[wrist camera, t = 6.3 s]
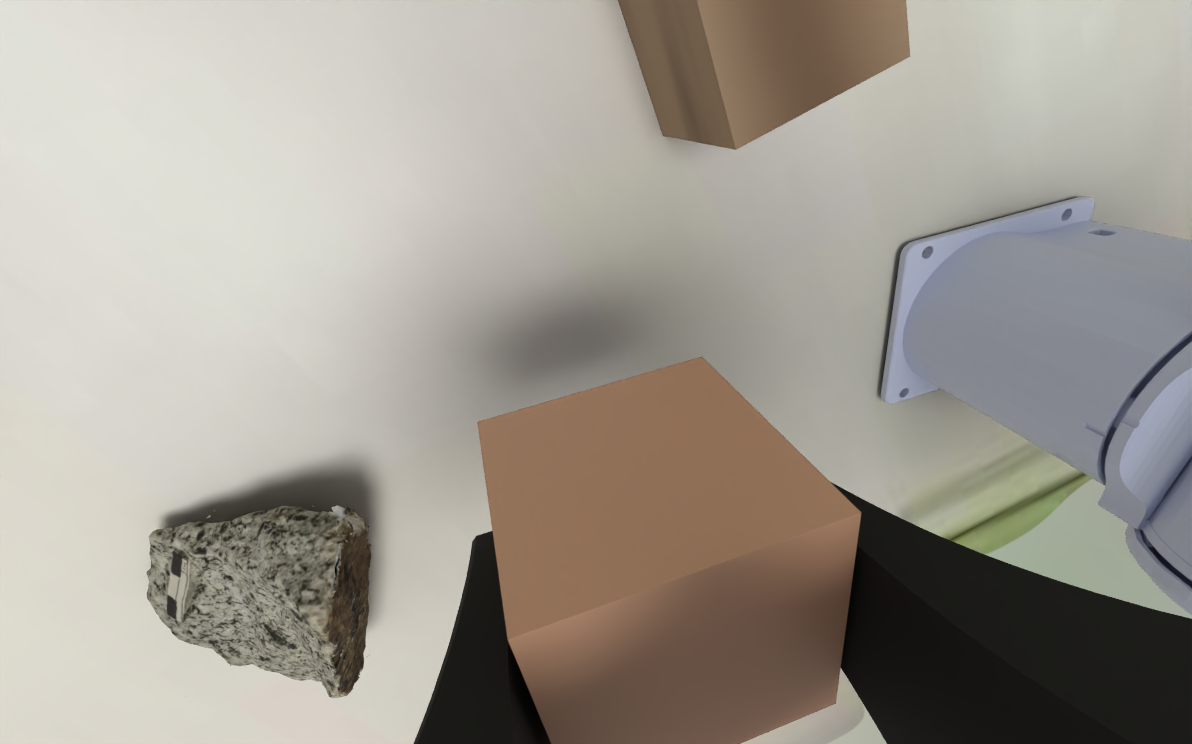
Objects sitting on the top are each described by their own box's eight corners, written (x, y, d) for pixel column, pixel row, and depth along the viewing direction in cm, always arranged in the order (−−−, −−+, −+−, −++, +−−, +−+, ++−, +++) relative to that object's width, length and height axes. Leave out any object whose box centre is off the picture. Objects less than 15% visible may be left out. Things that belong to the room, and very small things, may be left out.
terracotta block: (702, 356, 11) (861, 512, 7) (712, 517, 14) (835, 703, 10) (477, 421, 11) (507, 639, 6) (532, 580, 13) (579, 811, 9)
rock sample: (-41, 565, 14) (166, 805, 12) (238, 393, 19) (419, 546, 17) (139, 645, 22) (281, 798, 20) (303, 511, 26) (430, 624, 25)
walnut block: (759, -123, 15) (889, -210, 10) (793, 65, 17) (909, 56, 13) (603, -41, 15) (671, -96, 10) (662, 135, 17) (736, 149, 13)
